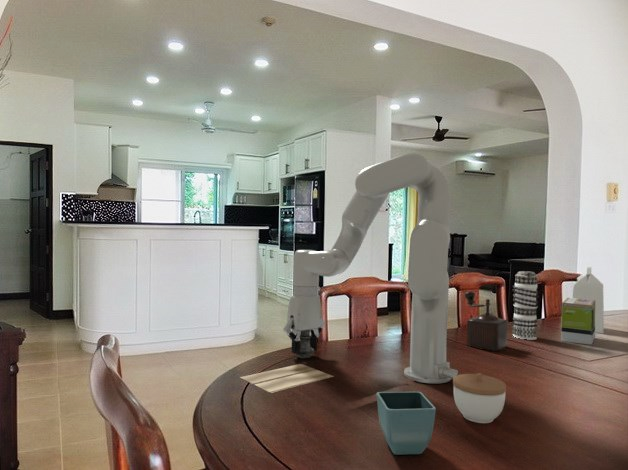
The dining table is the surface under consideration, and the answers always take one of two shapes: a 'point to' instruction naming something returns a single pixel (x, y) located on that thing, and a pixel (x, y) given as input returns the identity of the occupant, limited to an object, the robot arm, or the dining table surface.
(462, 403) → the lidded jar
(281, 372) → the floor strip
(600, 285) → the milk
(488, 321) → the dark brown coffee grinder
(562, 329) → the tea box
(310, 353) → the salt shaker
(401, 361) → the dining table surface
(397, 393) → the flower pot
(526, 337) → the decorative candle
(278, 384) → the plank
